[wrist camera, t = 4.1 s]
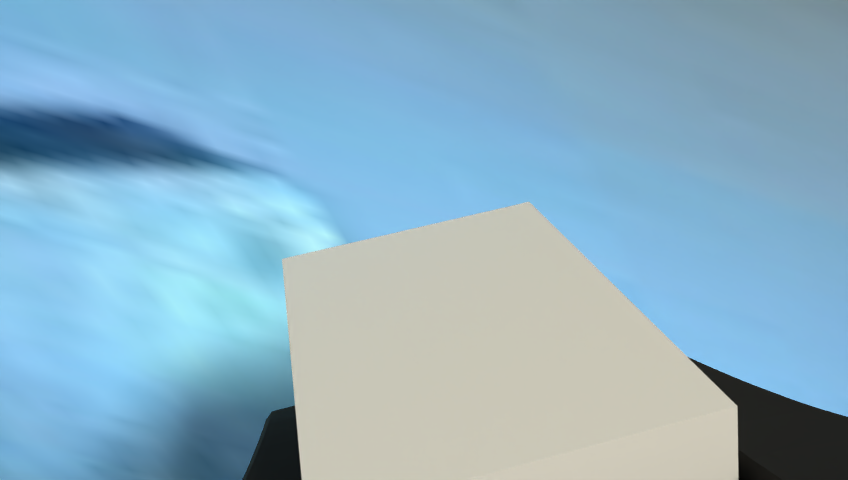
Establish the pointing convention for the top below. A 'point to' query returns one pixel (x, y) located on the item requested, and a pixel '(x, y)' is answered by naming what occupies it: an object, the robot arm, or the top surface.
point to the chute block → (490, 364)
